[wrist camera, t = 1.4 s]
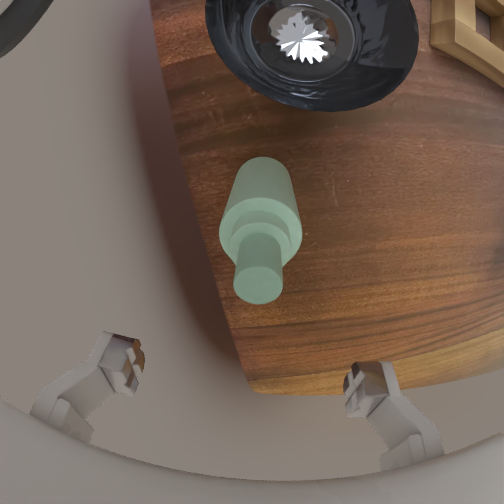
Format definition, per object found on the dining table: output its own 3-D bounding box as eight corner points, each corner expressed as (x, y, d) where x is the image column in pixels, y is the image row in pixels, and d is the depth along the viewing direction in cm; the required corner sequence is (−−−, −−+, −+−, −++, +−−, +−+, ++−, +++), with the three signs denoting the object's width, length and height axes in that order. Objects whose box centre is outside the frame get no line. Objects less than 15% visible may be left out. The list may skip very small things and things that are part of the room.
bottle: (237, 153, 24) (204, 234, 12) (294, 160, 24) (323, 246, 12) (233, 205, 27) (205, 317, 15) (286, 211, 27) (300, 326, 15)
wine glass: (348, 41, 18) (441, 3, 5) (311, 113, 22) (369, 150, 9) (263, 4, 16) (257, -86, 4) (226, 77, 21) (170, 65, 8)
